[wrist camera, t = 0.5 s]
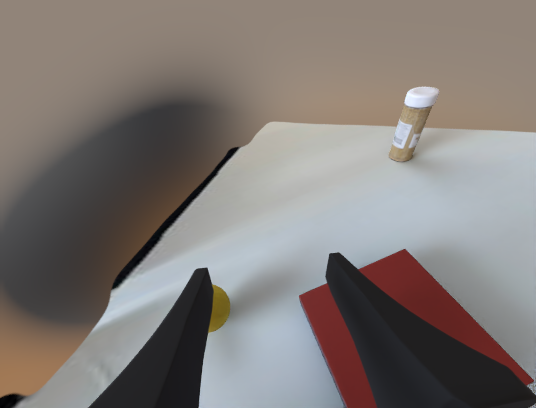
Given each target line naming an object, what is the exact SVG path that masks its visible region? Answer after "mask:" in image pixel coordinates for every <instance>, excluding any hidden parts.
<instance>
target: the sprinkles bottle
mask: <svg viewBox="0 0 536 408" xmlns="http://www.w3.org/2000/svg"><path fill="white" fill-rule="evenodd" d="M438 95H439V90H438V89H436V88H433V87H417V88H413V89H411V90H409V91H408V93H407V95H406V98H405V103H404V108H403V112H402V115H401V118H400V120H399V123H398V126H397V129H396V133H395V136H394V139H393V144H392V147H391V150H390V152H389V157H390V158H391V159H393V160H395V161H401V162H402V161H407V160H410V159H411V158H412V156H413V155H412V154H413V152H414V149H415V147H416V145H417V143H418V140H419V138H420V135H421V133H422V130H423V128H424V125H425V123H426V120H427V117H428V115H429V113H430V110H431V108H432V106H433V104H434V103H435V102H436V100H437V97H438Z"/></svg>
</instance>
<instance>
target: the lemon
mask: <svg viewBox="0 0 536 408" xmlns="http://www.w3.org/2000/svg"><path fill="white" fill-rule="evenodd" d="M212 286H213V290H214V294H213V307H212V314H211V320H210V325H209V331H208V333H209V332H213V331H216V330H217V329H219V328H220V327H221V326H222V325H223V324H224V323H225V322H226V320H227V318H228V316H229V313H230V301H229V298H228V296H227V294H226V292H225V291H224V290H223V289H221V288H220V287H218V286H216V285H212Z"/></svg>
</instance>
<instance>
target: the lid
mask: <svg viewBox="0 0 536 408" xmlns="http://www.w3.org/2000/svg"><path fill="white" fill-rule="evenodd" d="M358 270H359V271H360V272H361V273H362V274H364V275H365V276H366V277H367V278H368V279H369V280H370V281H372V282H373V283H374V284H375V285H376V286H378V287H379V288H380V289H381V290H383V291H384V292H385V293H386V294H388V295H389V296H390V297H391V298H393V299H394V300H396V301H397V302H398V303H400V304H401V305H403V306H404V307H405V308H407V309H408V310H410V311H411V312H413V313H414V314H416V315H417V316H419V317H420V318H422V319H423V320H425V321H426V322H428V323H430V324H431V325H433V326H434V327H436V328H438V329H439V330H441V331H443V332H444V333H446V334H448V335H449V336H451V337H453V338H455V339H456V340H458V341H460V342H462V343H463V344H465V345H467V346H469V347H471V348H472V349H474V350H476V351H478V352H480V353H482V354H484V355H486V356H488V357H490V358H492V359H494V360H496V361H497V362H499V363H501V364H503V365H505V366H507V367H508V368H509V369H510V370H511V371H513V373H514V374H515V375H516V376H517V377H518V378H519V379H520V380H521V381H522V382H523V383H524V384H525V385H526V386H527V385H529V384H531V383H532V382H534V380H533V379H532V378H531V377H530V376H529V375H528V374H527V373H526V372H525V371H524V370H523V369H522V368H521V367H520V366H519V365H518V364H517V363H516V362H515V361H514V360H513V359H512V358H511V357H510V356H509V355H508V353H507V352H506V351H505V350H504V349H503V348H502V347H501V346H500V345H499V344H498V343H497V342H496V341H495V340H494V339H493V338H492V337H491V336H490V335H489V334H488V333H487V332H486V331H485V330H484V329H483V328H482V327H481V326H480V325H479V324H478V323H477V322H476V321H475V320H474V319H473V318H472V317H471V316H470V315H469V314H468V313H467V312H466V311H465V310H464V309H463V308H462V307H461V306H460V304H459V303H458V302H457V301H456V300H455V299H454V298H453V297H452V296H451V295H450V294H449V293H448V292H447V291H446V290H445V289H444V288H443V287H442V286H441V285H440V284H439V283H438V282H437V281H436V280H435V279H434V278H433V277H432V276H431V275H430V274H429V273H428V272H427V271H426V270H425V269H424V268H423V267H422V266H421V265H420V264H419V263H418V262H417V261H416V260H415V259H414V258H413V256H412V255H411V254H410V253H409V252H408V251H407V250H406V249H403V250H401V251H399V252H396V253H394V254H392V255H390V256H387V257H385V258H383V259H381V260H378V261H376V262H374V263H372V264H369V265H367V266H365V267H363V268H360V269H358ZM299 298H300V301H301V303H302V305H303V307H304V310H305V312H306V314H307V317H308V319H309V321H310V324H311V326H312V328H313V331H314V333H315V335H316V338H317V340H318V342H319V344H320V347H321V349H322V351H323V354H324V356H325V358H326V361H327V363H328V365H329V368H330V370H331V372H332V375H333V377H334V379H335V382H336V384H337V386H338V388H339V391H340V393H341V395H342V398H343V400H344V402H345V405H346V407H347V408H377V406H376V403H375V400H374V397H373V394H372V391H371V388H370V385H369V382H368V379H367V376H366V374H365V371H364V368H363V365H362V362H361V360H360V357H359V354H358V352H357V349H356V347H355V344H354V341H353V339H352V337H351V334H350V332H349V330H348V328H347V326H346V324H345V322H344V320H343V317H342V315H341V313H340V311H339V309H338V307H337V305H336V303H335V301H334V298H333V296H332V294H331V292H330V289H329V286H328V283H326V284H324V285H322V286H320V287H317V288H315V289H313V290H311V291H308V292H306V293H304V294H301V295H299Z"/></svg>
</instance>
